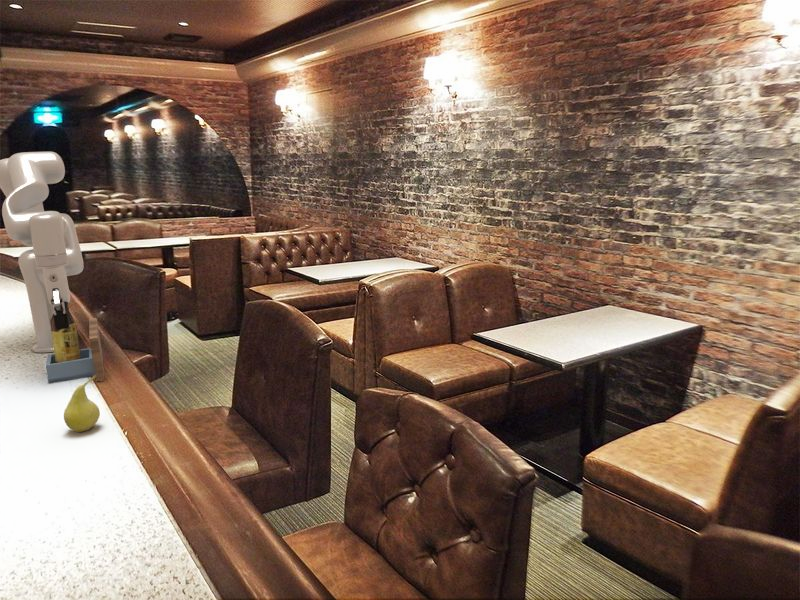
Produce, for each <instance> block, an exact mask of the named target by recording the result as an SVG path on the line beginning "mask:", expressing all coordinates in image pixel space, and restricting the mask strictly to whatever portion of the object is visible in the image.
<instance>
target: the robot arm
mask: <svg viewBox="0 0 800 600" xmlns="http://www.w3.org/2000/svg"><path fill="white" fill-rule="evenodd" d="M65 174H66V169H65V164H64V161H63V158H62V157H61V156H60V155H59V154H58V153H57V152H54V151H27V152H17V153H14V154H12V155H11V156H10V157H8V158H6V157H5V158H3V159H0V190H1V192H2V193H3V195H4V196H5V199H4V201H3V203H2V208H1V215H2V218H3V219H2V220H3V223H4V228H5V231H6V235H8V238H9V239H11V240H12V241H14V242H20V243H21V244H22V245H24V246H26V247H32V249H29V250H25V251H24V252H22V253H21V254H20V255H19V256H18V265H19V267H18V268H19V269H20V272H21V274H22V278H23V280H24V284H25V288H26V291H27V296H28V297H27V298H28V301H29V307H30V311H31V312H30V314H31V317H32V322H33V323H32V324H33V329H34V335H35V340H36V343H35V344H34V345H32V347H31V349H32V350H31V351H32V352H34V353H40V354H43V353H52V352H53V353H54V347H53V340H52V334H51V324H50V320H51V318H52V316H54V322H55V328H56V329H57V330H59V329H66V328H69V323H68V317H67V313H66V312H65V305H64V302H67V303H68V304H69V303H70V301H71V293H70V292H71V291H70V288H69V281H68V277H69V276H75V275H76V276H77V275H79V274H81V273H82V272H83V270H84V259H83V254H82V250H81V246H80V242H79V237H78V233H77V230H76V227H75V223H74V222H75V221H73V219H72V217H71V216H70V215H69V214H67V213H63V212H62V213H60V212H59V211H56V210H45V209H44V204H43V202H44V201H45V200H46V199H47V198H48V196H49V193H50V189H49V186H48V185H53V184H57V183H59V182H61V181H62V180H63V179H64V177H65ZM60 301H62V302H61V303H60ZM61 305H62V306H61ZM53 311H54V312H53ZM53 314H54V315H53Z"/></svg>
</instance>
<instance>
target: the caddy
mask: <svg viewBox="0 0 800 600" xmlns="http://www.w3.org/2000/svg"><path fill="white" fill-rule="evenodd" d="M80 354H81V359H78V360H72V361H66V362H60V363H57V362H56V360H55V353H50V354H47V357H46V361H45V370H46V376H47V381H48V384H54V382H55V383H60V382H65V381H66V382H67V381H71V380H77V379H82V378H84V379H85V378H89V377H93V375H95V370H94V364H93V358H92V352H91V347H89V348H82V349H80Z"/></svg>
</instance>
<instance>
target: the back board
mask: <svg viewBox="0 0 800 600" xmlns="http://www.w3.org/2000/svg"><path fill="white" fill-rule="evenodd" d="M88 324H89V325H88V326H89V327H88V332H89V333H88V335H89V337H88V338H89V344H90V348H91V352H92V358H93V364H94V370H95V375H96V378H95V381H96V383H98V382H97V381H101V380H105V379H104V378H105V368H104V367H105V366H103V365H104V357H103V350H102V344H101V338H100V337H101V335H100V331H99V324H98V319H97V317H94V318H89V319H88ZM105 381H106V380H105ZM101 382H102V381H101Z"/></svg>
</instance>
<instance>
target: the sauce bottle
mask: <svg viewBox="0 0 800 600" xmlns="http://www.w3.org/2000/svg"><path fill="white" fill-rule="evenodd" d="M61 302H62V301H60V303H61ZM64 305H65V312H66V313H67V317H68V323H69V328H66V329H59V330H57V329H56V328H55V322H54V316H52V318H51V320H50V324H51V334H52V340H53V347H54V352H53V354H55V360H56V362H57V363H60V362H66V361H72V360H78V359H81V354H80V350H81V349H80V347H81V346H80V343H79V342H80V341H79V335H78V333H79V332H78V329H77V322H76V321H75V319H74V317H73V315H72V313H71V312H70V308H69V303H67V302H64ZM61 306H62V305H61ZM53 312H54V311H53ZM53 315H54V314H53Z"/></svg>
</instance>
